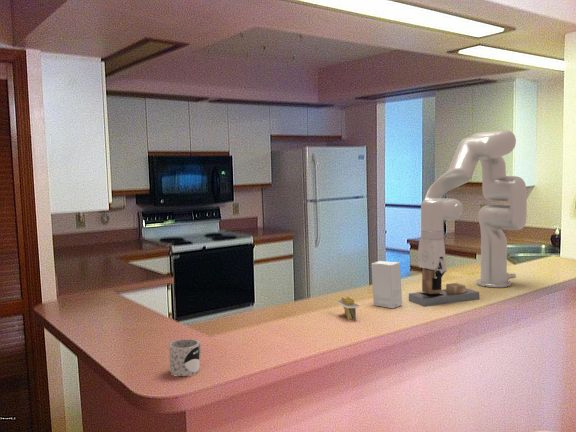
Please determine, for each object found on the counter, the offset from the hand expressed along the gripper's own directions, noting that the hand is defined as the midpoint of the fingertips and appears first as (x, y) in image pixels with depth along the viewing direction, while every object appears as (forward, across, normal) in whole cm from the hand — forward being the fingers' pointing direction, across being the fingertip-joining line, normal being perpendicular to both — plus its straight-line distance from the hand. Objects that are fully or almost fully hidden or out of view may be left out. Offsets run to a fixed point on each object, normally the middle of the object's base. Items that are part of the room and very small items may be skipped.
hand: (431, 287), depth 182 cm
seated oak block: (+5, 0, +10) cm, 11 cm away
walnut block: (+2, 0, 0) cm, 2 cm away
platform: (+6, +5, -36) cm, 36 cm away
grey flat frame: (+5, 0, +5) cm, 7 cm away
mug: (+6, +29, -90) cm, 95 cm away
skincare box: (+5, -2, -17) cm, 18 cm away
